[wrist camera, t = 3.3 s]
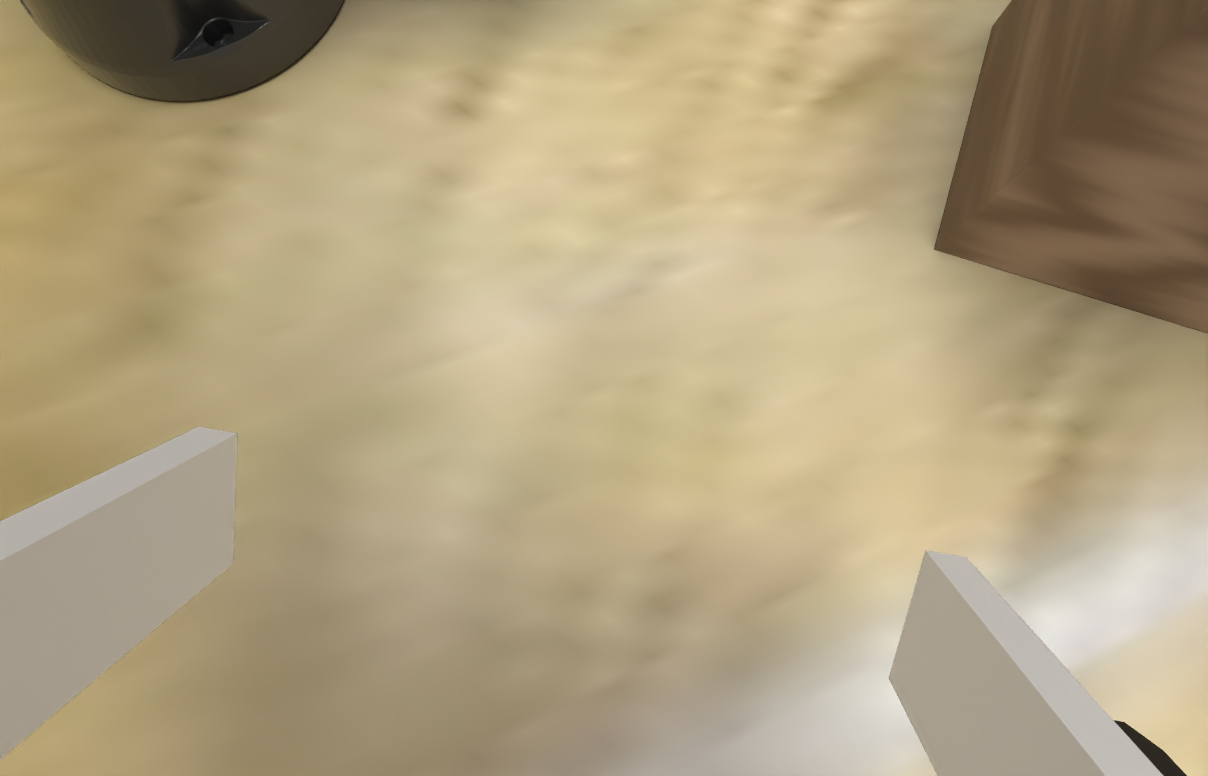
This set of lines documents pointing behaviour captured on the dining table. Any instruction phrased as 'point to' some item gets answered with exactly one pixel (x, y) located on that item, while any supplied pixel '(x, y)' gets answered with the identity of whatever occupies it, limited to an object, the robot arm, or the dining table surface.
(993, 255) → the wood-grain storage bin
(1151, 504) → the dining table surface
